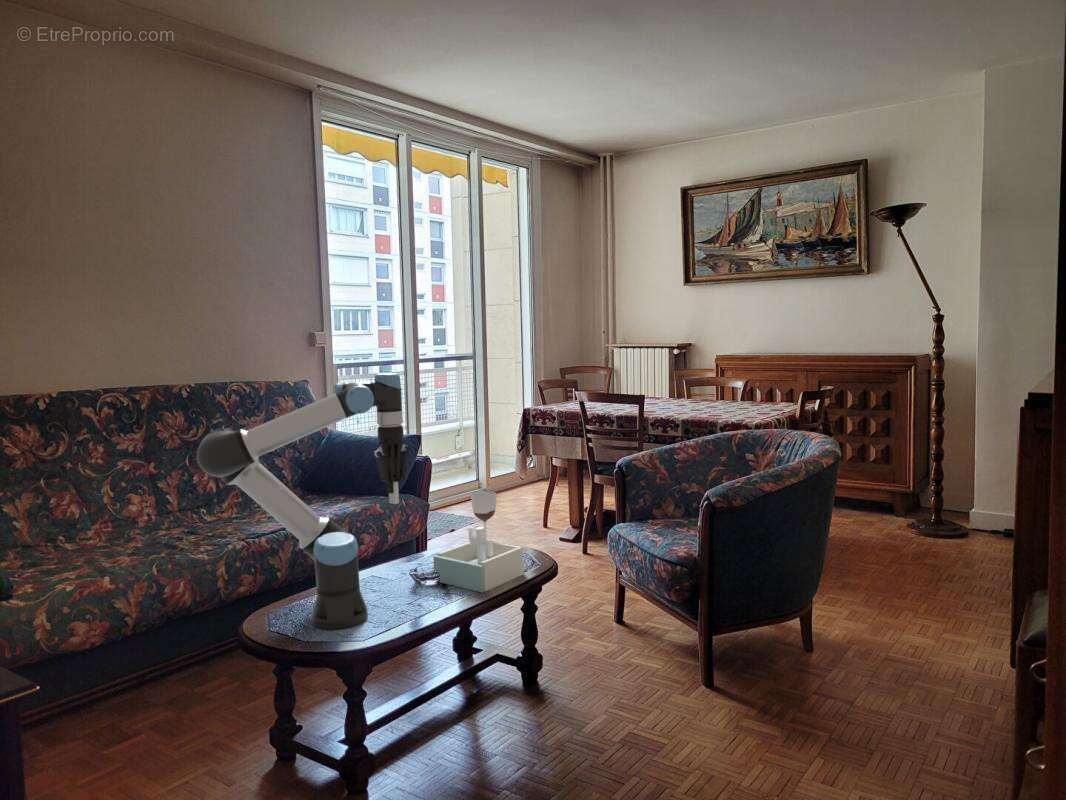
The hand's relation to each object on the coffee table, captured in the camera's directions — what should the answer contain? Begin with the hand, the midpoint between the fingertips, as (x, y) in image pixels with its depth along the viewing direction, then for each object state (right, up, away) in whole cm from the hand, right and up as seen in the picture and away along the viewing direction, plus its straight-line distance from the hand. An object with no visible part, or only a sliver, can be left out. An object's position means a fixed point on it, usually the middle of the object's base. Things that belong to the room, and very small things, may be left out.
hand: (394, 503), depth 232 cm
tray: (+24, -26, +15) cm, 39 cm away
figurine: (+25, -25, +17) cm, 39 cm away
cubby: (+25, -26, +17) cm, 40 cm away
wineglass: (+25, -24, +40) cm, 53 cm away
